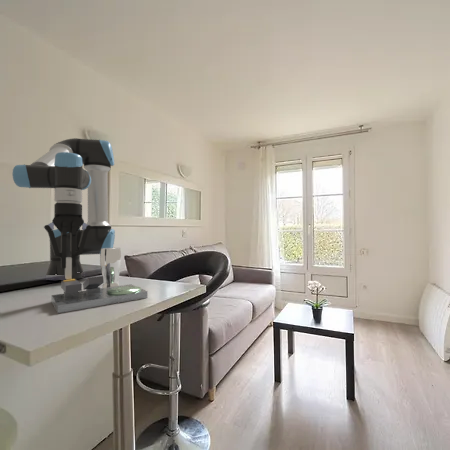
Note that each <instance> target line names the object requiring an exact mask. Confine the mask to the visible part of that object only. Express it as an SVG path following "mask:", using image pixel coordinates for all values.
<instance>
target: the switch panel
mask: <svg viewBox="0 0 450 450" xmlns="http://www.w3.org/2000/svg"><path fill="white" fill-rule="evenodd" d="M142 299H148V290H146V289H143V288H142V287H141V286H138V285H137V286H136V285H134V284H123V285H120V286H115V287H108V288H102V287H101V288H100V286H99V287H94V288H87V289H85V290H82V291H76V292H69V293H65V291H63V293H59V294H58V293H57V294H52V295H51V300H50V301H51V304H52V306H53V307H54V309H55V311H56V314H63V313H68V312H74V311H79V310H80V311H81V310H86V309H90V308H97V307H102V306H109V305H114V304H119V303H125V302H130V301H136V300H142Z"/></svg>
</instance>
